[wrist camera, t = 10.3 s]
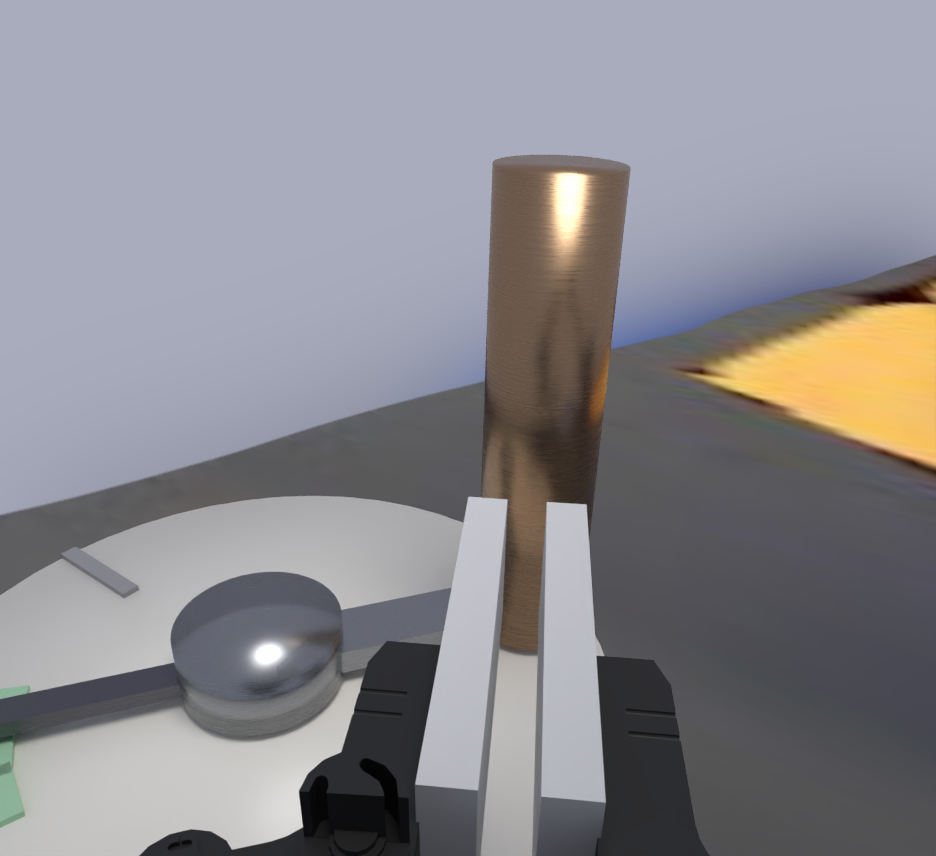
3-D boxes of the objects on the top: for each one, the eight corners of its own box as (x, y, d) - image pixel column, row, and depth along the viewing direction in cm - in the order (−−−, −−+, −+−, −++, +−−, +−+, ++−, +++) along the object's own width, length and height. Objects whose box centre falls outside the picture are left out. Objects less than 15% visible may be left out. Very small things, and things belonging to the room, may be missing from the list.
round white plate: (286, 483, 40) (283, 444, 39) (717, 675, 28) (727, 627, 27) (-271, 786, 23) (-302, 732, 22) (217, 1511, 12) (199, 1468, 11)
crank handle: (-161, 838, 19) (-471, 221, 13) (-106, 693, 24) (-317, 172, 17) (608, 650, 26) (672, 178, 19) (545, 563, 30) (579, 150, 24)
